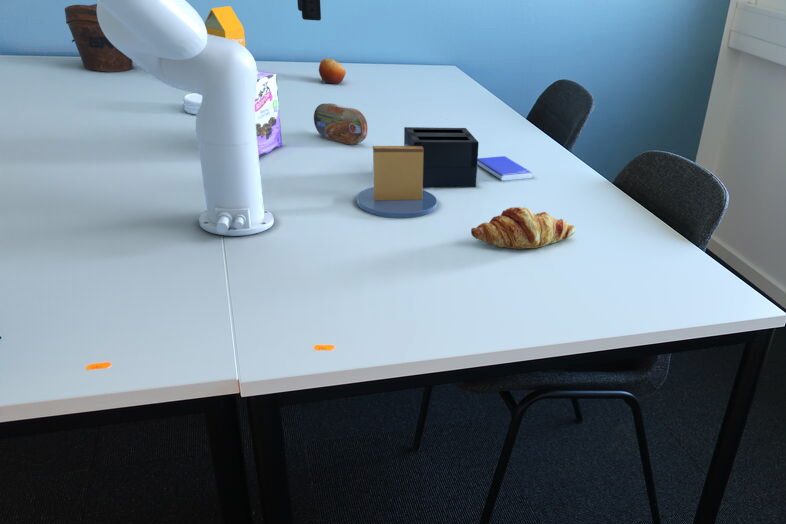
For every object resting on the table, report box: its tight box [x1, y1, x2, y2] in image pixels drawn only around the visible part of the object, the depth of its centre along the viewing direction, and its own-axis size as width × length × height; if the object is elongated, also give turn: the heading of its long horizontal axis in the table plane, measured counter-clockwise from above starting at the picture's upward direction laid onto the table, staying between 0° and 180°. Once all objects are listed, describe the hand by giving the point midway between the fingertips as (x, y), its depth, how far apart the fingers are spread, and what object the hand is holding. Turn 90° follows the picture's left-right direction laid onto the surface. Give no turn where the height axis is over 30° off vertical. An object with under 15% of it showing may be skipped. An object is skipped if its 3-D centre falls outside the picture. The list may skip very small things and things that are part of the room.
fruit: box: [318, 58, 347, 85], centre depth 233 cm, size 8×8×8 cm
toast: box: [372, 145, 424, 200], centre depth 149 cm, size 2×10×10 cm, turn 110°
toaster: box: [403, 126, 479, 189], centre depth 165 cm, size 11×15×10 cm
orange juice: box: [204, 5, 247, 49], centre depth 219 cm, size 8×9×20 cm
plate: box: [356, 186, 438, 219], centre depth 152 cm, size 16×16×1 cm
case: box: [64, 3, 134, 72], centre depth 217 cm, size 18×20×18 cm
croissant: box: [470, 206, 577, 250], centre depth 141 cm, size 21×10×8 cm, turn 114°
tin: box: [313, 102, 368, 146], centre depth 182 cm, size 15×3×8 cm, turn 62°
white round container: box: [182, 92, 202, 116], centre depth 193 cm, size 10×10×4 cm
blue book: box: [477, 155, 533, 182], centre depth 177 cm, size 2×8×12 cm
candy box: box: [255, 70, 283, 158], centre depth 167 cm, size 14×6×16 cm, turn 168°
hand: (309, 15), depth 137 cm, fingers open, 9 cm apart
